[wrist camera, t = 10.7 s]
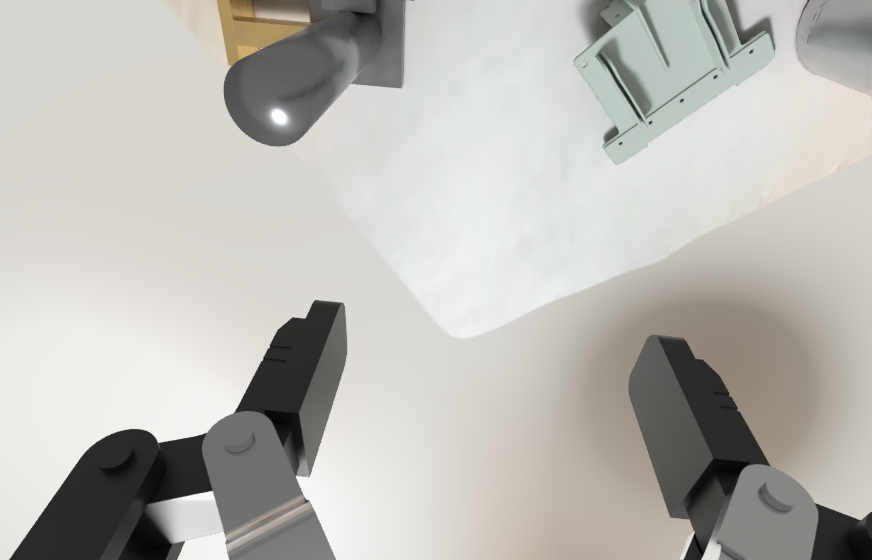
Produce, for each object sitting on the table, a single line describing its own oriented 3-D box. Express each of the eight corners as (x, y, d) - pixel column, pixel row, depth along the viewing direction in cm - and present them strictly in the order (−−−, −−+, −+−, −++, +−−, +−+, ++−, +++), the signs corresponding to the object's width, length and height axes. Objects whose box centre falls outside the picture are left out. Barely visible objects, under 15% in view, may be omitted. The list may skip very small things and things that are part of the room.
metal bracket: (553, 81, 37) (747, -79, 30) (534, 51, 41) (702, -97, 34) (627, 182, 46) (790, 75, 39) (605, 150, 49) (751, 47, 43)
